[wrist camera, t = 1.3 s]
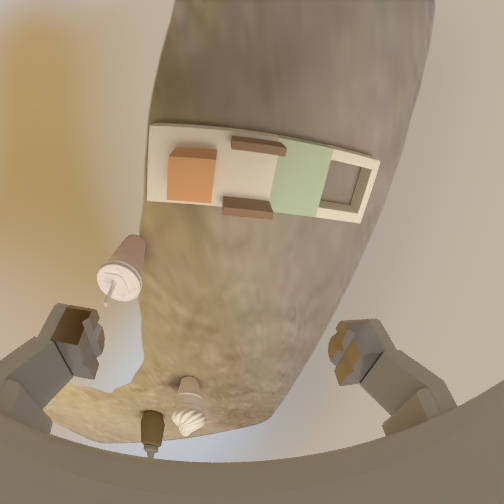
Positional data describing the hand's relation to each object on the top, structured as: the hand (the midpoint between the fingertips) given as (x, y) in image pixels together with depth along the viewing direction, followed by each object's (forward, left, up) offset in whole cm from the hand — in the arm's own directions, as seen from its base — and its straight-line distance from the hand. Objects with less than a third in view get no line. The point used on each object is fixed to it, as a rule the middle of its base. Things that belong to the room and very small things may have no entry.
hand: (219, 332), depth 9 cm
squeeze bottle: (+84, -16, -31) cm, 91 cm away
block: (+3, -3, -27) cm, 28 cm away
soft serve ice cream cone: (+57, -3, -31) cm, 65 cm away
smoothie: (+17, -12, -31) cm, 37 cm away
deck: (+3, +6, -30) cm, 31 cm away
